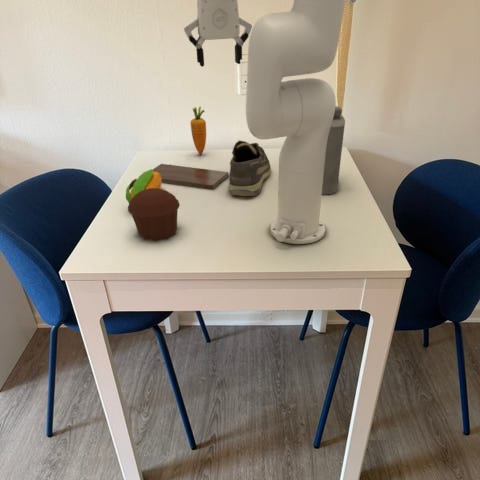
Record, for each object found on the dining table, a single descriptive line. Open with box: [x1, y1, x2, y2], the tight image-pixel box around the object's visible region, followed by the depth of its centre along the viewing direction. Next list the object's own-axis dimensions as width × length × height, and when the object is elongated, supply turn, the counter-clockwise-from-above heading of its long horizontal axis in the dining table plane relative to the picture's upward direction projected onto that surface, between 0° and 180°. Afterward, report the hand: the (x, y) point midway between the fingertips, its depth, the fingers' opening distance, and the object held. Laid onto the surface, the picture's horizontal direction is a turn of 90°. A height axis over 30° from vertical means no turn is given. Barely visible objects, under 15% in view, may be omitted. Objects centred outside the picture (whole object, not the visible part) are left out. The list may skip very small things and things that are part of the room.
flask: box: [322, 105, 346, 195], centre depth 118 cm, size 15×6×20 cm, turn 176°
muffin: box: [127, 188, 181, 242], centre depth 101 cm, size 12×11×10 cm
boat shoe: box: [228, 140, 272, 197], centre depth 125 cm, size 11×29×11 cm, turn 174°
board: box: [152, 163, 230, 190], centre depth 131 cm, size 11×23×1 cm, turn 67°
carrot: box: [190, 106, 207, 156], centre depth 142 cm, size 5×5×15 cm
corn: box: [125, 168, 162, 204], centre depth 116 cm, size 7×8×20 cm
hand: (220, 64), depth 116 cm, fingers open, 9 cm apart
